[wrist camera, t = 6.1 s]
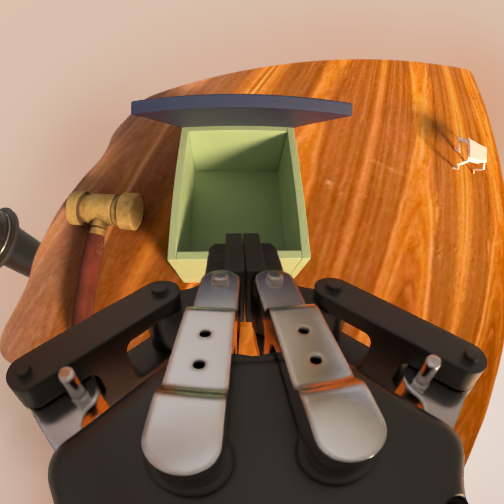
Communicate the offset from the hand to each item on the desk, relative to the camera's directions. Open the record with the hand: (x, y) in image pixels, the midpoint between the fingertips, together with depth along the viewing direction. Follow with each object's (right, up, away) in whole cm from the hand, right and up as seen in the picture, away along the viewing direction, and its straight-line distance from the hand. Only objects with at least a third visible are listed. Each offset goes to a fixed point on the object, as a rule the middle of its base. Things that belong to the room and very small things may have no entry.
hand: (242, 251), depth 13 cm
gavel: (-19, -3, +19) cm, 27 cm away
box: (-1, +4, +22) cm, 22 cm away
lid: (-1, +11, +8) cm, 14 cm away
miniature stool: (+43, +18, +30) cm, 55 cm away
